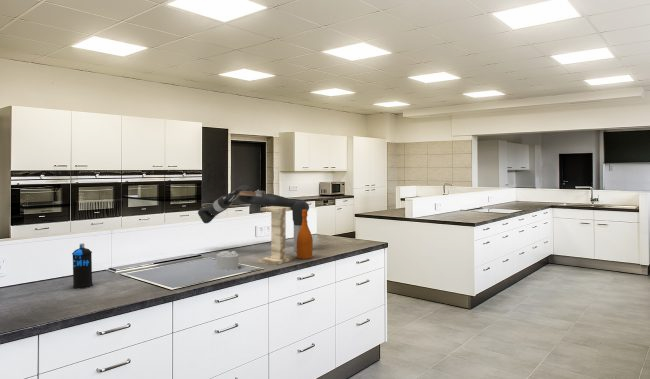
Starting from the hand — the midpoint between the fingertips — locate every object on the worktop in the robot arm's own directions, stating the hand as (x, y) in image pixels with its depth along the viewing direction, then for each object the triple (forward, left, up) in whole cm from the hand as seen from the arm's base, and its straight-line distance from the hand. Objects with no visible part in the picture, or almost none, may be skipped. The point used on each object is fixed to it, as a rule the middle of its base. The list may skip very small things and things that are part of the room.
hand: (240, 190), depth 275 cm
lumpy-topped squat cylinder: (+26, +13, -41) cm, 50 cm away
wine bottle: (-17, +36, -41) cm, 57 cm away
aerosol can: (+90, -19, -41) cm, 101 cm away
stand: (0, +27, -41) cm, 49 cm away
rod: (0, +6, -3) cm, 7 cm away
